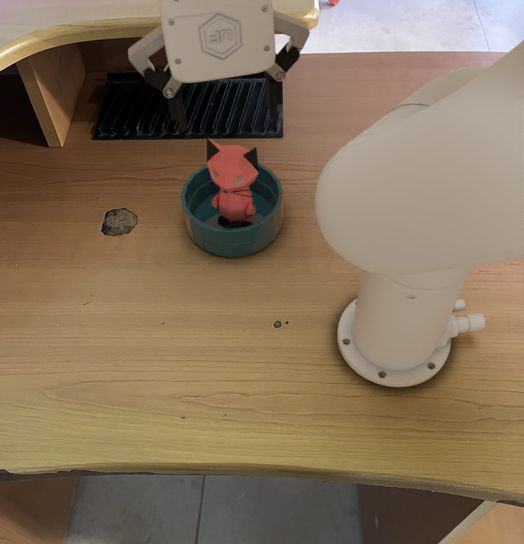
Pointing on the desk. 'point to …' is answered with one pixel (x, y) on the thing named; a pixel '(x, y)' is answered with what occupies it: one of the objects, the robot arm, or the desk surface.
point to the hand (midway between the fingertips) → (227, 116)
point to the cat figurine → (233, 181)
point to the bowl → (232, 237)
